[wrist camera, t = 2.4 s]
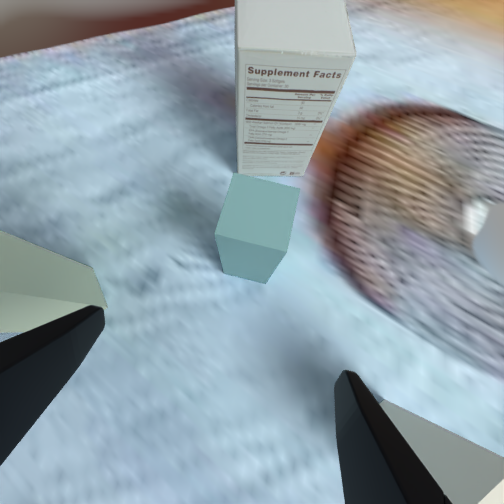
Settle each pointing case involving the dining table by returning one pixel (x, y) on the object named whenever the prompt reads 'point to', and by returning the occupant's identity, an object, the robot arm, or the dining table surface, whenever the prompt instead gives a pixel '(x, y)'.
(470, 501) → the off-white post
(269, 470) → the dining table surface
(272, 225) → the teal post
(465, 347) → the dining table surface
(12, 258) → the sage post
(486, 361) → the dining table surface
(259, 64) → the supplement box
